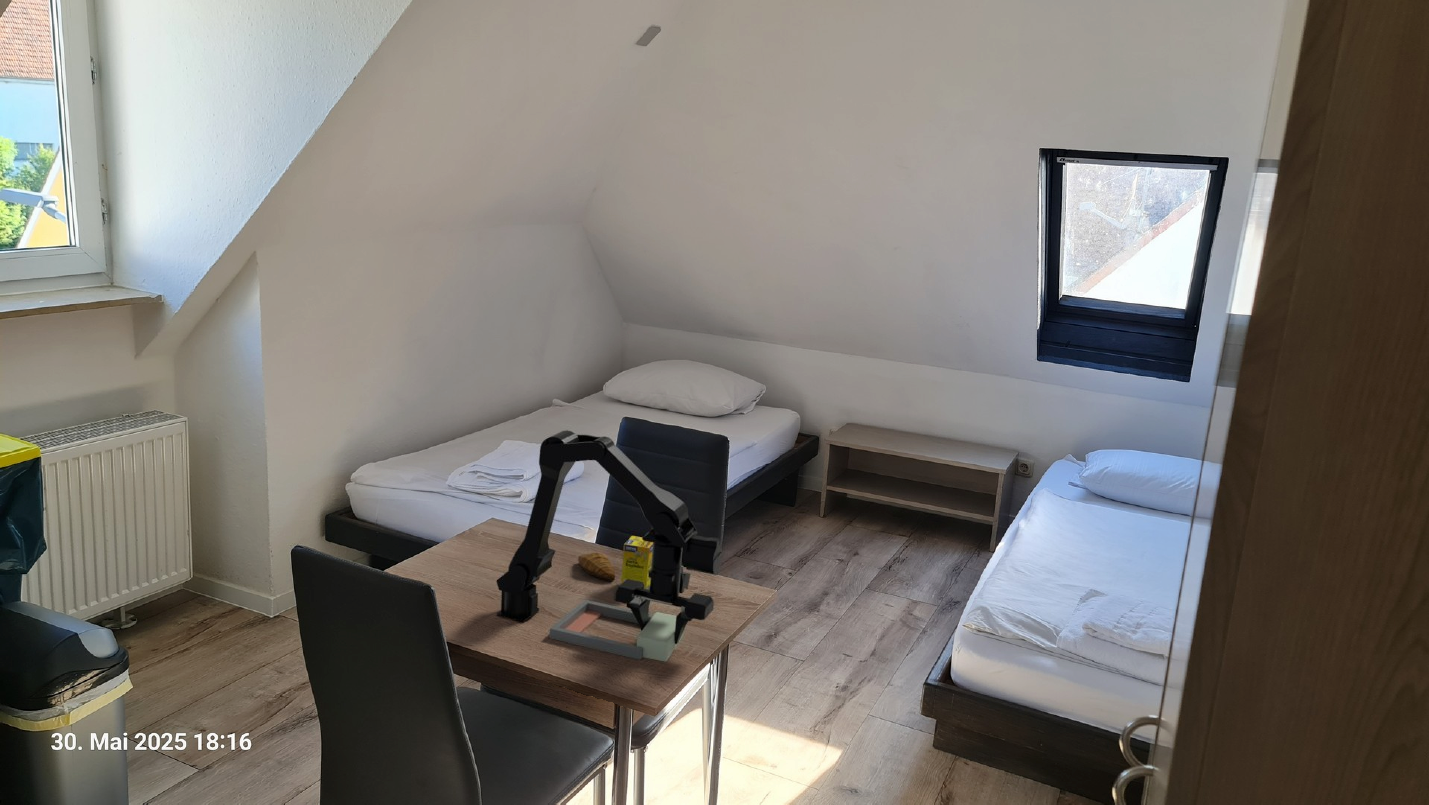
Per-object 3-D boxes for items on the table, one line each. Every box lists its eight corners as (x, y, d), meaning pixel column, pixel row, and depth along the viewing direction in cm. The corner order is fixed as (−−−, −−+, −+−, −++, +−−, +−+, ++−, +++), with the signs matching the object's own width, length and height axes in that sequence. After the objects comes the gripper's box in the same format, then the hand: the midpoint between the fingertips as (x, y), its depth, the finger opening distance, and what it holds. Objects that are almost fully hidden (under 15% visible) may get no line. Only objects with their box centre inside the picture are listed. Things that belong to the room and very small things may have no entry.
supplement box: (646, 595, 216) (649, 548, 213) (620, 591, 217) (623, 544, 214) (653, 585, 221) (656, 539, 219) (627, 581, 222) (630, 535, 220)
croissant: (567, 565, 228) (568, 545, 227) (591, 560, 233) (593, 540, 232) (599, 586, 218) (600, 565, 217) (624, 580, 223) (625, 559, 222)
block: (635, 656, 188) (637, 636, 187) (654, 630, 199) (656, 612, 198) (666, 662, 186) (667, 642, 186) (683, 635, 198) (684, 617, 197)
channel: (549, 638, 192) (549, 628, 192) (584, 608, 206) (585, 599, 206) (640, 660, 186) (640, 650, 186) (670, 628, 200) (670, 619, 200)
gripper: (725, 560, 194) (719, 633, 197) (638, 542, 200) (633, 614, 203) (706, 579, 184) (700, 656, 187) (615, 560, 189) (610, 636, 193)
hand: (661, 639), depth 193 cm, fingers closed on block, 6 cm apart
